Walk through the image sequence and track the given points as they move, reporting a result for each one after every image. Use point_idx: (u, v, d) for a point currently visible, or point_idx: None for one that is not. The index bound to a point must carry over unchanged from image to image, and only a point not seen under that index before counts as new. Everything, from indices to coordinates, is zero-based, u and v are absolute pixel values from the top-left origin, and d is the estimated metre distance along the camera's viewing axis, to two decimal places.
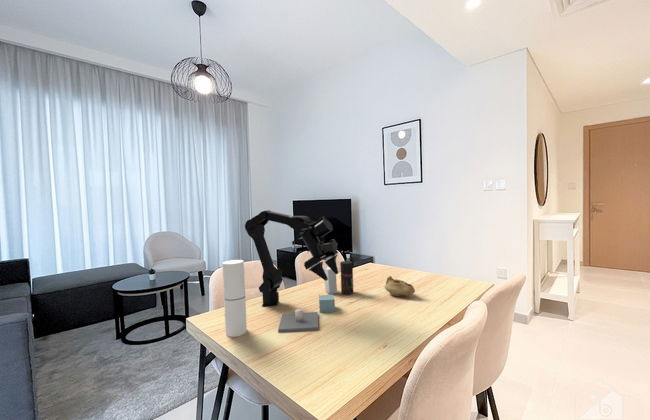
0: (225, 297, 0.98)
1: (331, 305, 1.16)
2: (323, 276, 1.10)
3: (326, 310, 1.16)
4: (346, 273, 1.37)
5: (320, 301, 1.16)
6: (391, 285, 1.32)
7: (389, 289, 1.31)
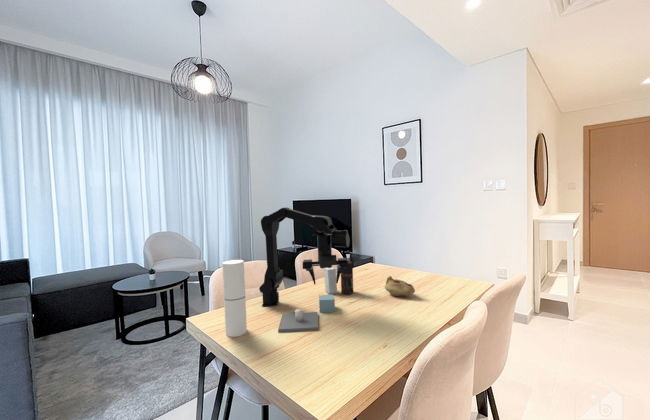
0: (225, 297, 0.98)
1: (331, 305, 1.16)
2: (313, 280, 1.19)
3: (326, 310, 1.16)
4: (346, 273, 1.37)
5: (320, 301, 1.16)
6: (391, 285, 1.32)
7: (389, 289, 1.31)
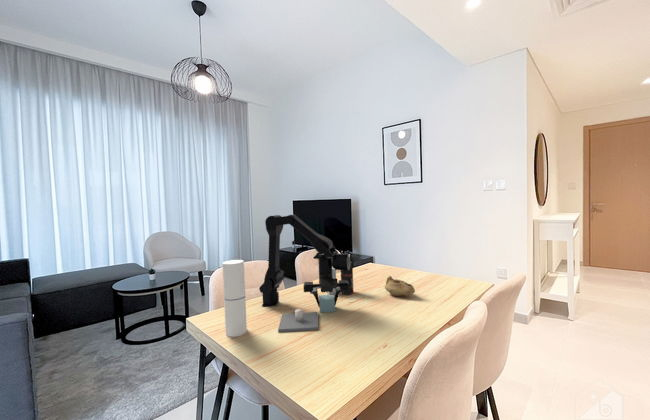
0: (225, 297, 0.98)
1: (331, 305, 1.16)
2: (317, 302, 1.19)
3: (326, 310, 1.16)
4: (346, 273, 1.37)
5: (320, 301, 1.16)
6: (391, 285, 1.32)
7: (389, 289, 1.31)
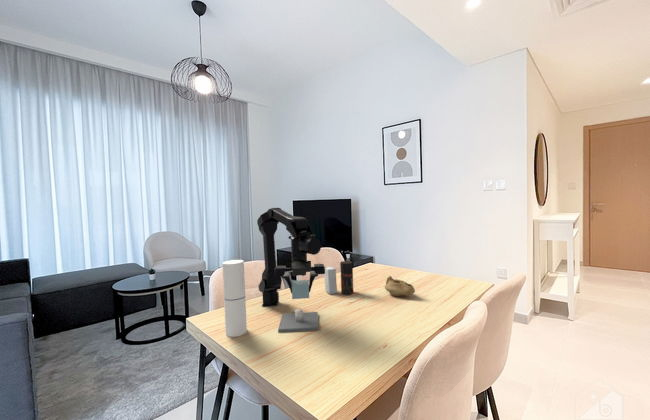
0: (225, 297, 0.98)
1: (305, 291, 1.05)
2: None
3: (299, 296, 1.04)
4: (346, 273, 1.37)
5: (293, 286, 1.04)
6: (391, 285, 1.32)
7: (389, 289, 1.31)
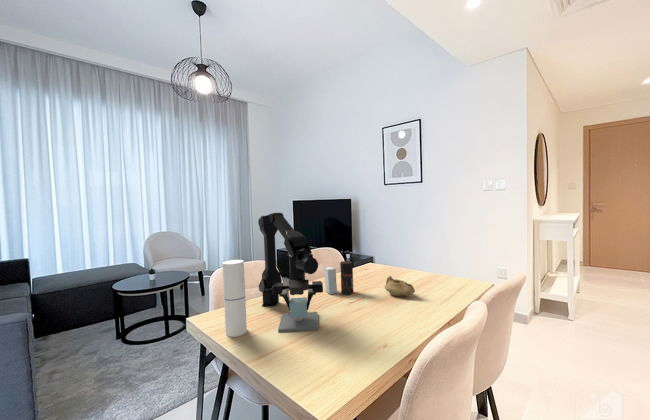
0: (225, 297, 0.98)
1: (303, 309, 1.04)
2: None
3: (297, 315, 1.04)
4: (346, 273, 1.37)
5: (290, 305, 1.04)
6: (391, 285, 1.32)
7: (389, 289, 1.31)
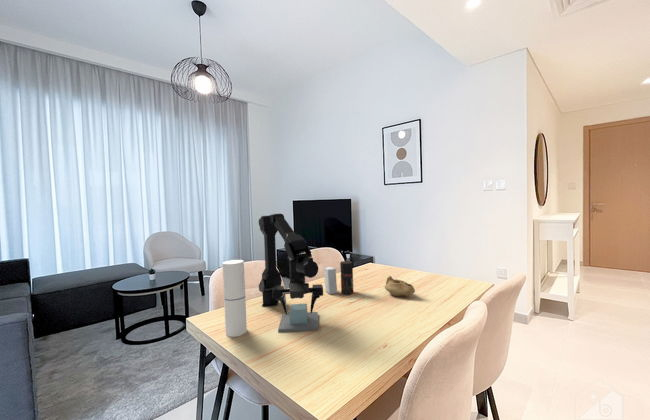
0: (225, 297, 0.98)
1: (303, 316, 1.04)
2: None
3: (297, 321, 1.04)
4: (346, 273, 1.37)
5: (290, 311, 1.04)
6: (391, 285, 1.32)
7: (389, 289, 1.31)
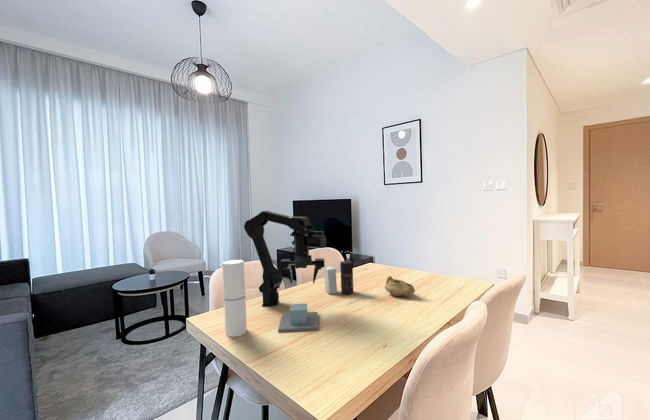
0: (225, 297, 0.98)
1: (303, 316, 1.04)
2: None
3: (297, 321, 1.04)
4: (346, 273, 1.37)
5: (290, 311, 1.04)
6: (391, 285, 1.32)
7: (389, 289, 1.31)
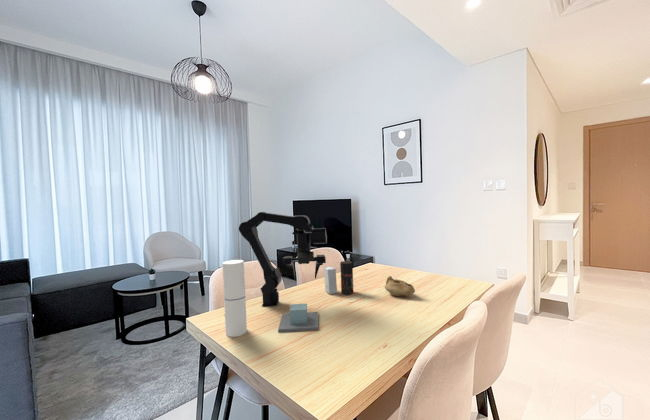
0: (225, 297, 0.98)
1: (303, 316, 1.04)
2: None
3: (297, 321, 1.04)
4: (346, 273, 1.37)
5: (290, 311, 1.04)
6: (391, 285, 1.32)
7: (389, 289, 1.31)
